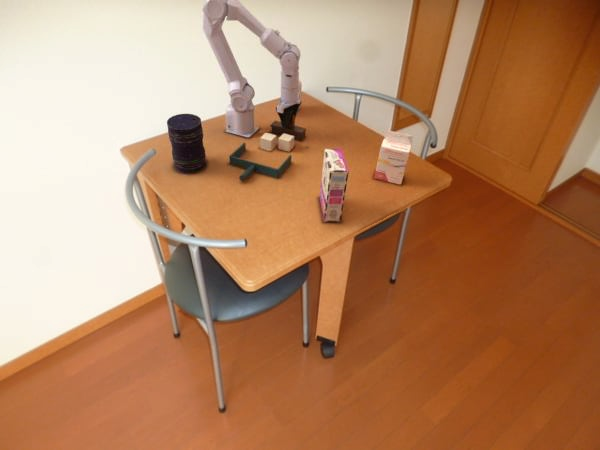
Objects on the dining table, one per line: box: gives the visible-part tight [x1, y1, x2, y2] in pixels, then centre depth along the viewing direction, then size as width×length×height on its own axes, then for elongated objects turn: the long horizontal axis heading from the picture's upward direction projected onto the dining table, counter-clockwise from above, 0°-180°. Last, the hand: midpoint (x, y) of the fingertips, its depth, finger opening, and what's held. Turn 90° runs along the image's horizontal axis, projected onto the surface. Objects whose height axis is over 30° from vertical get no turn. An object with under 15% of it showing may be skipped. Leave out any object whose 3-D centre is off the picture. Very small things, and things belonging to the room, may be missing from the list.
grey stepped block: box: [270, 114, 307, 142], centre depth 145 cm, size 12×4×8 cm, turn 67°
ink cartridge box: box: [374, 129, 414, 185], centre depth 125 cm, size 9×5×15 cm, turn 71°
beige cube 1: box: [259, 132, 277, 152], centre depth 139 cm, size 4×4×4 cm
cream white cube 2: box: [277, 133, 295, 153], centre depth 140 cm, size 4×4×4 cm
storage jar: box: [166, 113, 207, 175], centre depth 126 cm, size 10×10×15 cm
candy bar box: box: [318, 148, 350, 223], centre depth 111 cm, size 11×5×16 cm, turn 5°
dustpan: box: [228, 142, 292, 183], centre depth 129 cm, size 17×16×3 cm
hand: (288, 123), depth 144 cm, fingers open, 5 cm apart
